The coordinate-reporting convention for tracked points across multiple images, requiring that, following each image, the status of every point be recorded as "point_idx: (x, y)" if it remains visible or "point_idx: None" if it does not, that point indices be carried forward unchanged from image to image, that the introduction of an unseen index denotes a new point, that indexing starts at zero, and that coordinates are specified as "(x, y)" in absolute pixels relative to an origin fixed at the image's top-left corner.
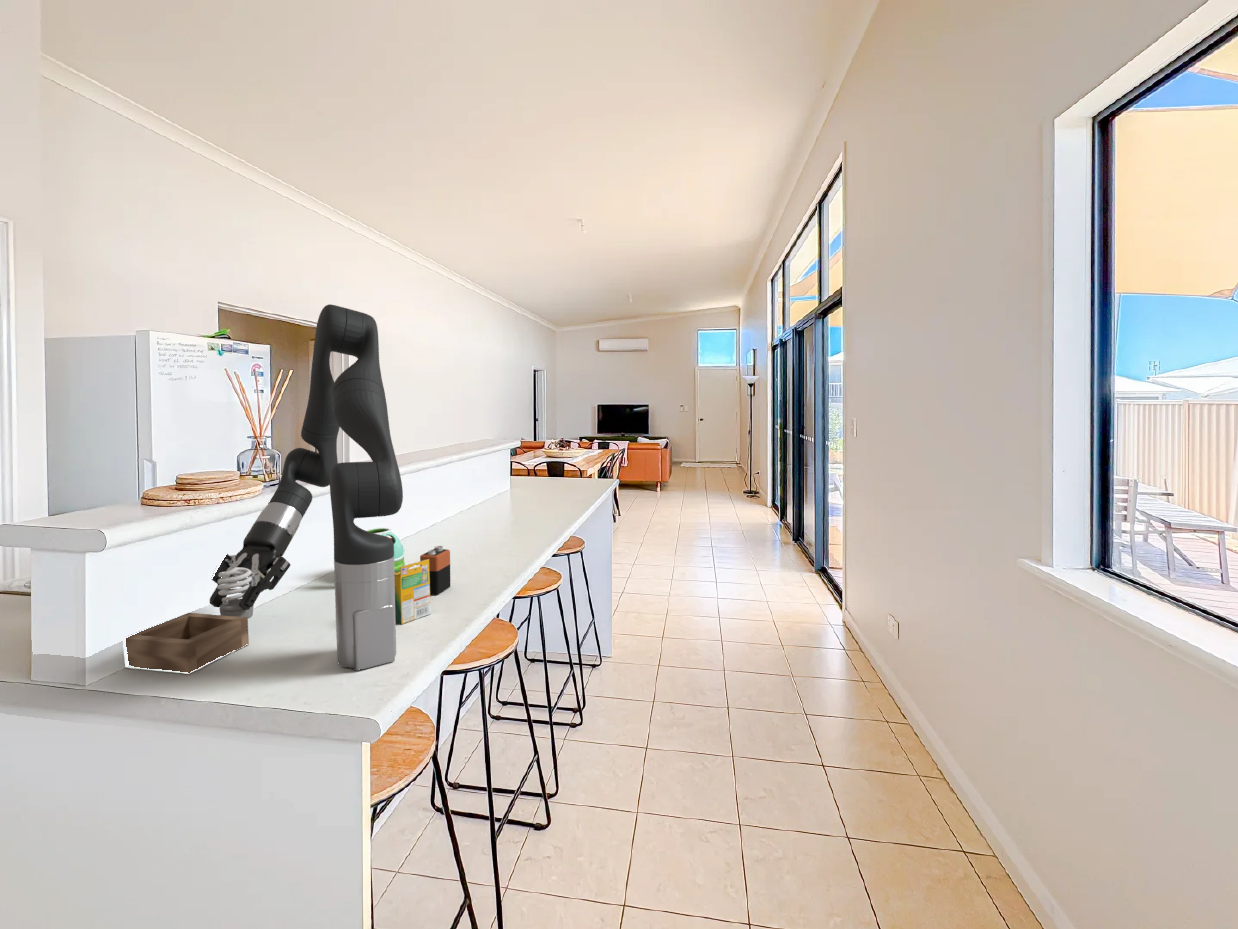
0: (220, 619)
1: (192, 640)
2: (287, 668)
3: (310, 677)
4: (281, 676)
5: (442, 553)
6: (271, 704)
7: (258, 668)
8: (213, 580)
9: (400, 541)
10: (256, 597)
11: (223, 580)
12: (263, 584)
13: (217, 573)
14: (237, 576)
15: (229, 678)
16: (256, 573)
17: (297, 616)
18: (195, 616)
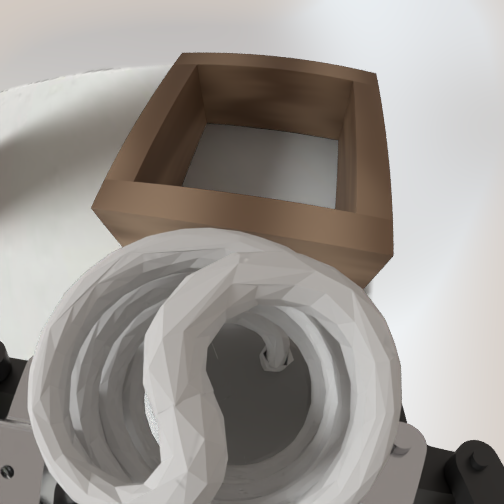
0: (190, 188)
1: (181, 63)
2: (31, 155)
3: (7, 139)
4: (39, 132)
5: None
6: (49, 82)
7: (73, 146)
8: (466, 442)
9: None
10: None
11: (242, 235)
12: (1, 347)
13: (485, 492)
14: (102, 270)
15: (112, 111)
16: (5, 419)
17: None
18: (323, 209)
